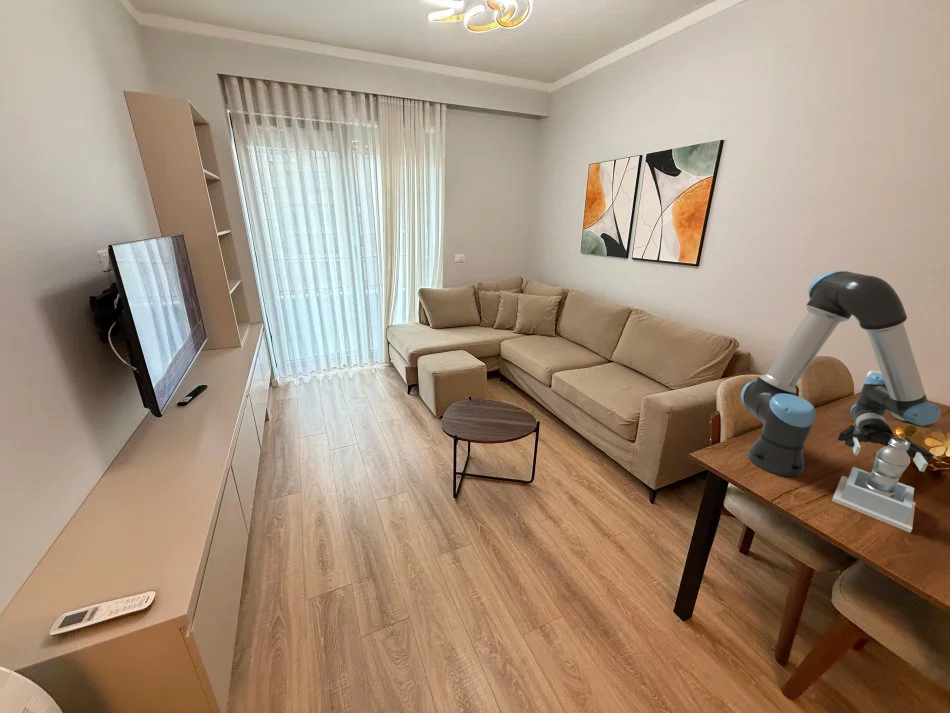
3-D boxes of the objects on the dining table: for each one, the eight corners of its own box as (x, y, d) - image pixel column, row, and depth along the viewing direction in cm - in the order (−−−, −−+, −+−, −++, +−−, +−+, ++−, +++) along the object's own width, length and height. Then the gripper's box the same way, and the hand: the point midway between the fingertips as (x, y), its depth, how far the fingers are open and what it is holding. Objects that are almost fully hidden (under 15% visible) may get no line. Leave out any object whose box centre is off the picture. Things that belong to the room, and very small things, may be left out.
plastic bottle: (880, 510, 108) (908, 449, 102) (853, 494, 114) (877, 436, 108) (896, 505, 110) (925, 445, 103) (868, 490, 116) (893, 433, 109)
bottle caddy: (831, 500, 113) (838, 483, 111) (840, 478, 123) (847, 462, 121) (910, 532, 102) (919, 514, 100) (913, 505, 112) (922, 488, 110)
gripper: (923, 450, 121) (948, 486, 105) (820, 426, 135) (828, 455, 118) (933, 430, 119) (960, 463, 102) (827, 407, 132) (836, 434, 116)
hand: (889, 459), depth 110 cm, fingers open, 13 cm apart
